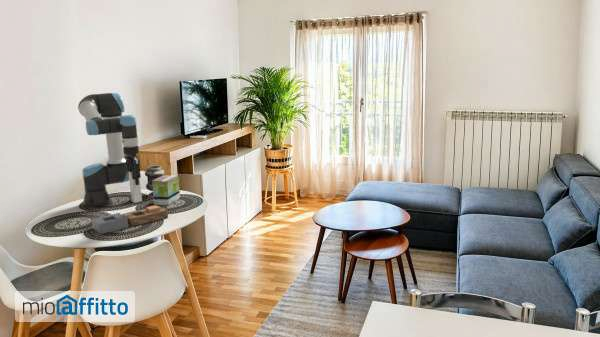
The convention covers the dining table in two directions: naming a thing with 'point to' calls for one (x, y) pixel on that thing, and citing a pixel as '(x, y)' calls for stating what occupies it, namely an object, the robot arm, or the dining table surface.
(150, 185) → the apothecary jar
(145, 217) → the socket block
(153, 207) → the plunger
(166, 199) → the tea box
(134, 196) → the steel peg
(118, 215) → the block
